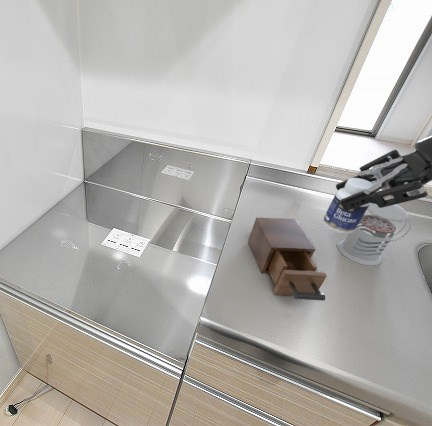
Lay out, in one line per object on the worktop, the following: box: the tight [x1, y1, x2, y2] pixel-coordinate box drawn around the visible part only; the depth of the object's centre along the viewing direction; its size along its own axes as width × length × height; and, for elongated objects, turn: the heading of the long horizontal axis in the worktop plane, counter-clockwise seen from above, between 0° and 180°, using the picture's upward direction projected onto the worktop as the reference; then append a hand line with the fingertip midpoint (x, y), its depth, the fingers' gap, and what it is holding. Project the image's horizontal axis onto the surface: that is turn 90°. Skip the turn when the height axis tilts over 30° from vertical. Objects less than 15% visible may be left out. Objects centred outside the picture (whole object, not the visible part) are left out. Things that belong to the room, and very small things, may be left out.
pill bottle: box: [322, 177, 375, 234], centre depth 55 cm, size 5×5×10 cm
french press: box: [336, 203, 412, 266], centre depth 70 cm, size 10×12×25 cm
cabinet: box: [247, 217, 316, 275], centre depth 74 cm, size 12×10×9 cm
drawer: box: [267, 250, 328, 302], centre depth 66 cm, size 15×8×7 cm, turn 175°
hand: (340, 197), depth 55 cm, fingers closed on pill bottle, 5 cm apart
